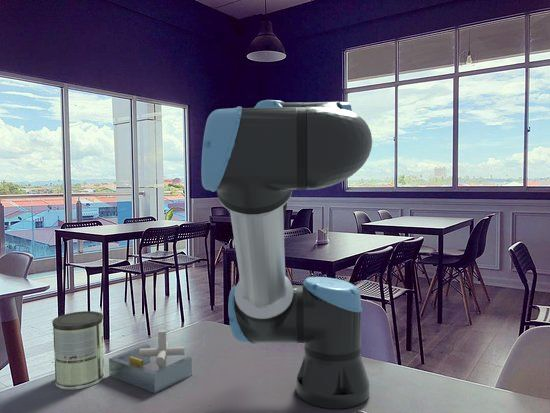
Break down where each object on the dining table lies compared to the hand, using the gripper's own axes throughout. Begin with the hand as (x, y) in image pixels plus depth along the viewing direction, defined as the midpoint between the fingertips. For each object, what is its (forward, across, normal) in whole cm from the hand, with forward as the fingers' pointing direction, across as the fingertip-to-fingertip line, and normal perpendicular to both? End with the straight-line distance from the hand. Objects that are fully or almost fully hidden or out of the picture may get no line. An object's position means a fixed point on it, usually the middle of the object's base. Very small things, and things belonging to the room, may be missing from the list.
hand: (272, 258), depth 114 cm
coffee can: (+25, +36, -28) cm, 52 cm away
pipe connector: (+25, +24, -14) cm, 37 cm away
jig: (+24, +25, -16) cm, 38 cm away
